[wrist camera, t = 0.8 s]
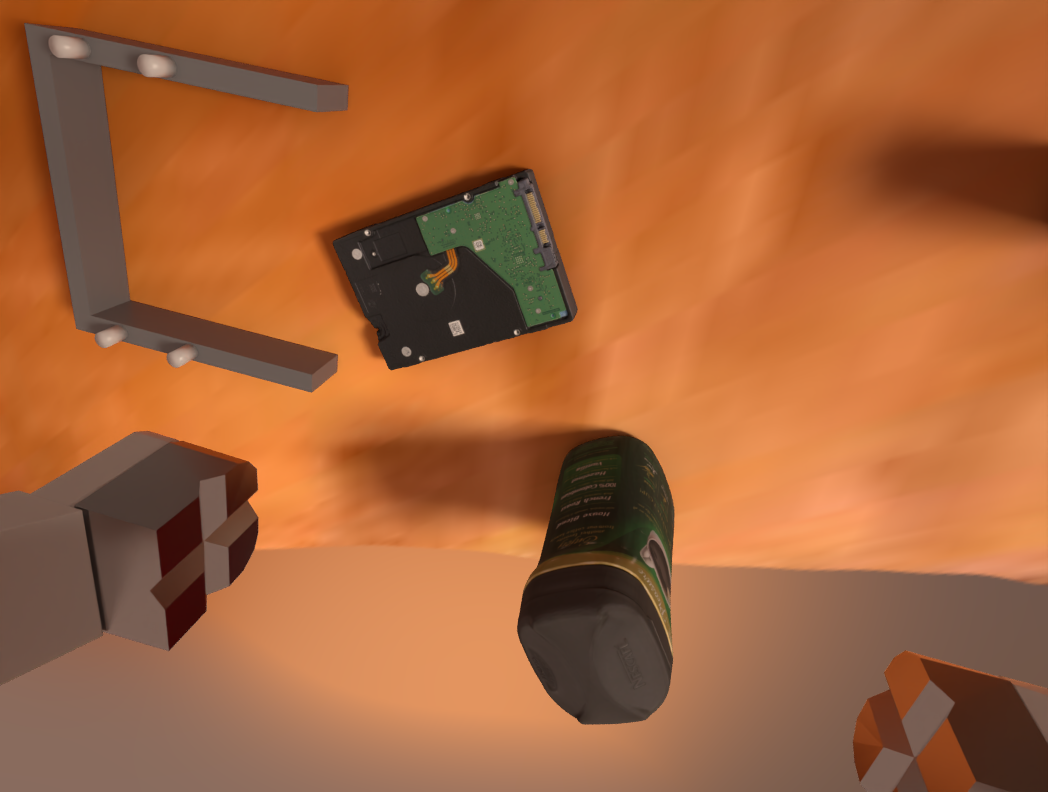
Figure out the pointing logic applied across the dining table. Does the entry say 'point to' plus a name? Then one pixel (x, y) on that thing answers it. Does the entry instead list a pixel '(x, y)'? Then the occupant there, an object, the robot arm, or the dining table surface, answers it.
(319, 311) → the dining table surface
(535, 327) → the disk drive
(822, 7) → the dining table surface
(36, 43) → the bracket
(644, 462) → the coffee jar
